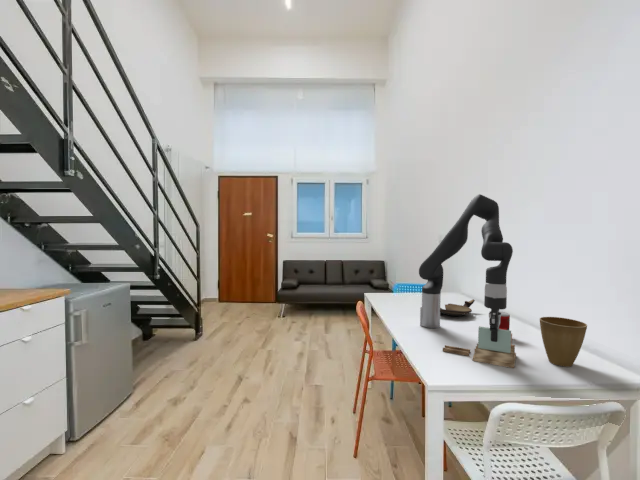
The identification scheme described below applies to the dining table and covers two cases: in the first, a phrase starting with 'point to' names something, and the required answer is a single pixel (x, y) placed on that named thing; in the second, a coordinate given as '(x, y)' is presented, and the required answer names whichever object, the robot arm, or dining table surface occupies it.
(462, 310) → the oil lamp
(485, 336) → the green plate
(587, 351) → the dining table surface
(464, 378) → the dining table surface
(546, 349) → the plant pot
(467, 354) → the stand rails
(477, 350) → the rack
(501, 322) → the canned food
